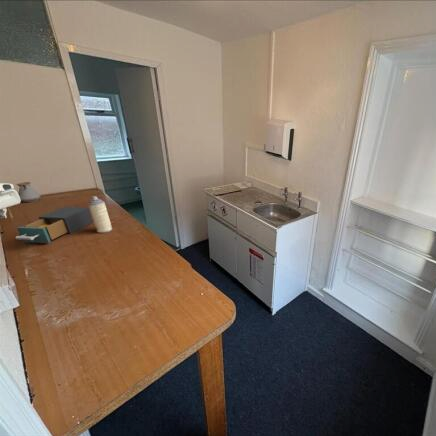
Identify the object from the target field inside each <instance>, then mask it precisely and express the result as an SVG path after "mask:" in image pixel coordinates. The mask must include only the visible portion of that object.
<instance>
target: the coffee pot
mask: <svg viewBox="0 0 436 436" xmlns="http://www.w3.org/2000/svg"><path fill="white" fill-rule="evenodd" d="M15 185H16V186H17V187H19V188H18V192H17V193H18V195H19V197H20V199H21V202H23V203H32V202H37V201H39V200H40V199H41V196H42V194H40V193H39V192H38V191H37V190H36V189H35V188H33V187H32V186H31V182H30V181H25V182H19V183H16V184H15Z"/></svg>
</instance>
